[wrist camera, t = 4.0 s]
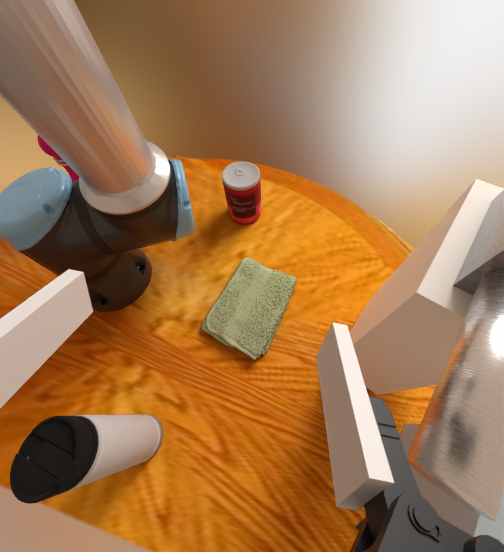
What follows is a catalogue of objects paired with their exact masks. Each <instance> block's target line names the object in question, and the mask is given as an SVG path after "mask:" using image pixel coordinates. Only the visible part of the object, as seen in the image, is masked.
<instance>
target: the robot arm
mask: <svg viewBox="0 0 504 552" xmlns="http://www.w3.org/2000/svg"><path fill="white" fill-rule="evenodd" d="M0 95H1V97H2V98H3V99H4V100H5V101H6V102H7V103H8V104H9V105H10V106H11V107H12V108H13V109H14V110H15V111H16V112H17V113H18V114H19V115H20V116H21V117H22V118H23V119H24V120H25V121H26V122H27V123H28V124H29V125H30V126H31V127H32V128H33V129H34V130H35V131H36V133H37V134H38V135H39V136H40V137H41V138H42V139H43V140H44V141H45V142H46V143H47V144H48V145H49V146H50V147H51V148H52V149H53V150H54V151H55V152H56V153H57V154H58V155H59V156H60V157H61V158H62V159H63V160H64V161H65V162H66V163H67V164H68V165H69V166H70V167H71V168H72V169H73V170H74V171H75V172H76V173H77V174H78V175H79V176H80V177H79V180H77V181H72V180H71V178H70V176H69V175H67V174H66V173H64V172H63V171H61V170H58V169H55V168H41V169H37V170H35V171H32V172H30V173H27V174H25V175H24V176H22V177H20V178H18V179H17V180H15V181H14V182H13V183H11V184H10V185H9V186H8V187H7V188H6V189H5V190H4V191H3V192H2V193H1V194H0V237H1V238H3V239H4V240H5V241H7V242H8V243H9V244H11V246H12V247H13V248H14V249H16V250H18V251H20V252H21V253H23V254H24V255H26V256H28V257H29V258H31V259H32V260H34V261H36V262H37V263H39V264H40V265H42V266H44V267H45V268H47V269H48V270H50V271H52V272H53V273H55V274H56V275H58V276H59V277H57V278H56V279H55V280H53V281H52V282H50V283H49V284H48V285H46V286H45V287H44V288H42V289H41V290H39V291H38V292H37V293H35V294H34V295H33V296H31V297H30V298H28V299H27V300H26V301H24V302H23V303H22V304H20V305H19V306H17V307H16V308H15V309H13V310H12V311H11V312H9V313H8V314H6V315H5V316H4V317H2V318H1V319H0V408H1V407H2V406H3V405H4V404H5V403H6V402H7V401H8V400H9V399H10V398H11V397H12V396H13V395H14V394H15V393H16V392H17V391H18V389H19V388H20V387H21V386H22V385H23V384H24V383H25V382H26V381H27V380H28V379H29V378H30V377H31V376H32V375H33V374H34V373H35V372H36V371H37V370H38V369H39V368H40V367H41V366H42V364H43V363H44V362H45V361H46V360H47V359H48V358H49V357H50V356H51V355H52V354H53V353H54V352H55V351H56V350H57V349H58V348H59V347H60V346H61V345H62V344H63V343H64V342H65V340H66V339H67V338H68V337H69V336H70V335H71V334H72V333H73V332H74V331H75V330H76V329H77V328H78V327H79V326H80V325H81V324H82V323H83V322H84V321H85V320H86V319H87V318H88V317H89V315H90V314H91V313H92V312H93V309H94V310H97V311H114V310H118V309H121V308H123V307H125V306H127V305H129V304H131V303H132V302H133V301H135V300H136V299H137V298H138V297H139V296H140V295H141V294H142V293H143V292H144V290H145V289H146V287H147V286H148V284H149V281H150V278H151V272H152V269H151V264H150V261H149V259H148V258H147V256H146V255H145V254H144V253H143V251H142V250H141V249H139V248H142V247H147V246H151V245H155V244H159V243H164V242H168V241H176V240H178V239H180V238H183V237H186V236H189V235H191V234H192V233H193V232H194V230H195V223H194V218H193V213H192V208H191V204H190V198H189V193H188V188H187V183H186V179H185V174H184V169H183V165H182V163H181V161H179V160H173V159H167V157H166V156H165V154H164V152H163V151H162V150H161V149H160V148H159V147H157V146H156V145H154V144H152V143H150V142H148V141H145V140H144V138H143V136H142V134H141V132H140V130H139V128H138V126H137V124H136V122H135V120H134V118H133V116H132V114H131V112H130V110H129V108H128V106H127V105H126V102H125V100H124V98H123V96H122V95H121V92H120V91H119V89H118V87H117V85H116V83H115V81H114V79H113V77H112V75H111V73H110V71H109V69H108V67H107V65H106V63H105V61H104V59H103V57H102V55H101V53H100V51H99V49H98V47H97V45H96V43H95V41H94V39H93V38H92V36H91V34H90V32H89V30H88V28H87V26H86V24H85V22H84V20H83V18H82V16H81V14H80V12H79V10H78V8H77V6H76V4H75V2H74V0H0ZM316 359H317V366H318V373H319V381H320V388H321V396H322V403H323V411H324V418H325V426H326V433H327V440H328V448H329V455H330V463H331V470H332V478H333V485H334V493H335V500H336V507H341V508H346V509H351V510H356V511H358V510H359V509H360V508H362V507H363V506H364V507H365V512H366V518H365V519H364V520H362V521H361V522H359V523H358V524H357V526H356V528H357V530H359V529H360V531H359V533H358V535H357V537H356V539H355V542H354V544H353V546H352V548H351V550H350V552H504V544H502V543H501V542H500V541H499V540H497V539H495V538H493V537H491V536H489V535H479V536H476V537H473V536H471V535H469V534H468V533H466V532H464V531H463V530H461V529H459V528H457V527H456V526H454V525H452V524H451V523H449V522H447V521H446V520H444V519H443V518H441V517H440V516H439V515H438V514H437V512H436V511H435V509H434V508H433V507H432V506H431V505H430V503H429V502H428V501H427V500H426V499H424V498H423V496H422V495H421V493H420V491H419V489H418V486H417V484H416V481H415V478H414V475H413V473H412V470H411V467H410V464H409V462H408V459H407V456H406V453H405V450H404V448H403V445H402V442H401V441H400V436H399V434H398V431H397V429H396V425H395V422H394V420H393V417H392V414H391V412H390V410H389V409H388V407H387V406H386V405H385V403H384V402H383V400H382V399H379V398H374V397H369V396H368V393H367V390H366V386H365V383H364V380H363V376H362V373H361V370H360V366H359V363H358V360H357V356H356V353H355V350H354V346H353V343H352V340H351V336H350V333H349V330H348V326H347V325H343V324H338V323H332V325H331V327H330V329H329V331H328V333H327V335H326V337H325V339H324V341H323V343H322V346H321V348H320V350H319V352H318V354H317V356H316Z"/></svg>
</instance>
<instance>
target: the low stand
mask: <svg viewBox="0 0 504 552" xmlns="http://www.w3.org/2000/svg"><path fill="white" fill-rule="evenodd" d="M419 426H420V424H406V423H405V426H404V428H403V430H402V432H401V435H400V441H401V442H402V445H403V448H404V450H405V453H406V456H407V455H408V453H409V451H410V448H411V446H412V443H413V441H414V438H415V436H416V434H417V431H418V429H419ZM410 467H411V466H410ZM411 470H412V473H413V475H414V478H415V481H416V484H417V486H418V489H419V491H420V493H421V495H422V496H423V498H424V499H426V500H427V501H428V502H429V503H430V505H431V506H432V507H433V508H434V509H435V511H436V512H437V514H438V515H439V516H440V517H441V518H443V519H444V520H446V521H447V522H449V523H451V524H452V525H454V526H456V527H457V528H459V529H461V530H463V531H464V532H466V533H468V534H469V535H471V536H473V537H476V536H479V535H489V536H491V537H493V538H495V539H497V540H499V541H500V542H501V543H502V544H504V492H503V496H502V499H501V503H500V507H499V511H498V515H497V519H496V521H492V520H490V519H488V518H485V517H483V516H482V515H480V514H478V513H476V512H474V511H473V510H471V509H469V508H468V507H466V506H464V505H463V504H461V503H460V502H458V501H457V500H455V499H454V498H452V497H451V496H449V495H448V494H446V493H445V492H443V491H442V490H440V489H439V488H438V487H436V486H435V485H434V484H432V483H431V482H430V481H428V480H427V479H426V478H424V477H423V476H422V475H421V474H419V473H418V472H417V471H416V470H415V469H414V468H412V467H411Z"/></svg>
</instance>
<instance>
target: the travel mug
mask: <svg viewBox="0 0 504 552" xmlns="http://www.w3.org/2000/svg"><path fill="white" fill-rule="evenodd" d="M162 437H163V431H162V426H161V424H160V422H159V421H158V419H157V418H155V417H154V416H151V415H74V416H55V417H51V418H48V419H46V420H44V421H42V422H41V423H39V424H38V425H37V426H36V427H35V428H34V429H33V430H32V432H31V433H30V434H29V435H28V437H27V438H26V439H25V441H24V442H23V444H22V446H21V447H20V450H19V453H18V454H16V456H15V458H14V461H13V463H12V466H11V472H10V484H11V489H12V491H13V494H14V495H15V497H17V499H18V500H20V501H22V502H24V503H37V502H39V501H42V500H45V499H47V498H50V497H53V496H55V495H58V494H62V493H65V492H67V491H70V490H73V489H75V488H78V487H81V486H83V485H86V484H88V483H91V482H94V481H96V480H99V479H101V478H104V477H107V476H109V475H112V474H114V473H117V472H120V471H122V470H125V469H127V468H130V467H133V466H135V465H138V464H140V463H143V462H145V461H148V460H149V459H151V458H152V457H153V456H154V455H155V454H156V452H157V451H158V449H159V447H160V445H161V442H162Z"/></svg>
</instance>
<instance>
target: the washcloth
mask: <svg viewBox="0 0 504 552" xmlns="http://www.w3.org/2000/svg"><path fill="white" fill-rule="evenodd" d="M295 283H296V277H294V276H292V275H288V274H286V273H282V272H280V271H278V270H271V269H269V268H266V267H264V266H263V265H262V264H261V263H259V262H257V261H256V260H254V259H251V258H245V259H243V260H242V261H241V263H240V264H239V265H238V268H237V270H236V271H235V272H234V275H233V276H232V277H231V279H230V281H229V282H228V284H227V286H226V287H225V289H224V290H223V292H222V294H221V295H220V297H219V299H218V300H217V301H216V303H215V304H214V305H213V307H212V308H211V309H210V311H209V312H208V314H207V316H206V318H205V320H204V321H203V324H202V325H201V329H203V330H204V331H206V332H207V333H209V334H210V335H212V336H213V337H214V338H216V339H217V340H219V341H220V342H222V343H223V344H225V345H227V346H230V347H233V348H236V349H238V350H239V351H241V352H243V353H245V354H246V355H248V356H249V357H251V358H252V359H254V360H256V359H257V358H259V357H260V355H261V354H262V355H265V353H266V352H267V351H268V349H269V347H270V345H271V341H272V338H274V335H275V332H276V331H277V328H278V325H279V324H280V321H281V319H282V317H283V314H284V312H285V311H286V307H287V305H288V303H289V300H290V298H291V295H292V292H293V289H294V286H295Z"/></svg>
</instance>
